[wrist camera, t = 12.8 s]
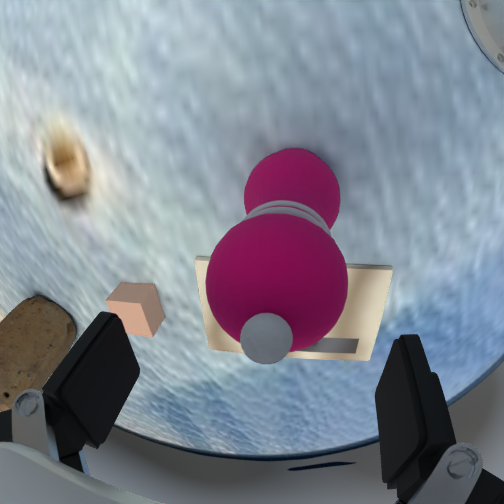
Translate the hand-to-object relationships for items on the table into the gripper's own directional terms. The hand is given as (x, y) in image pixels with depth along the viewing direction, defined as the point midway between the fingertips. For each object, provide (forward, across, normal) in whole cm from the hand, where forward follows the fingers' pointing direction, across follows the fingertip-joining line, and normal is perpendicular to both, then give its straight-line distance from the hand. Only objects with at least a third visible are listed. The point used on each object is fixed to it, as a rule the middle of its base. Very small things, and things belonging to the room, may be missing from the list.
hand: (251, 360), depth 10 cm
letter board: (+20, -1, +14) cm, 24 cm away
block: (+21, +37, +20) cm, 47 cm away
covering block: (+20, +18, +14) cm, 30 cm away
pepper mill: (+20, -1, -1) cm, 20 cm away
